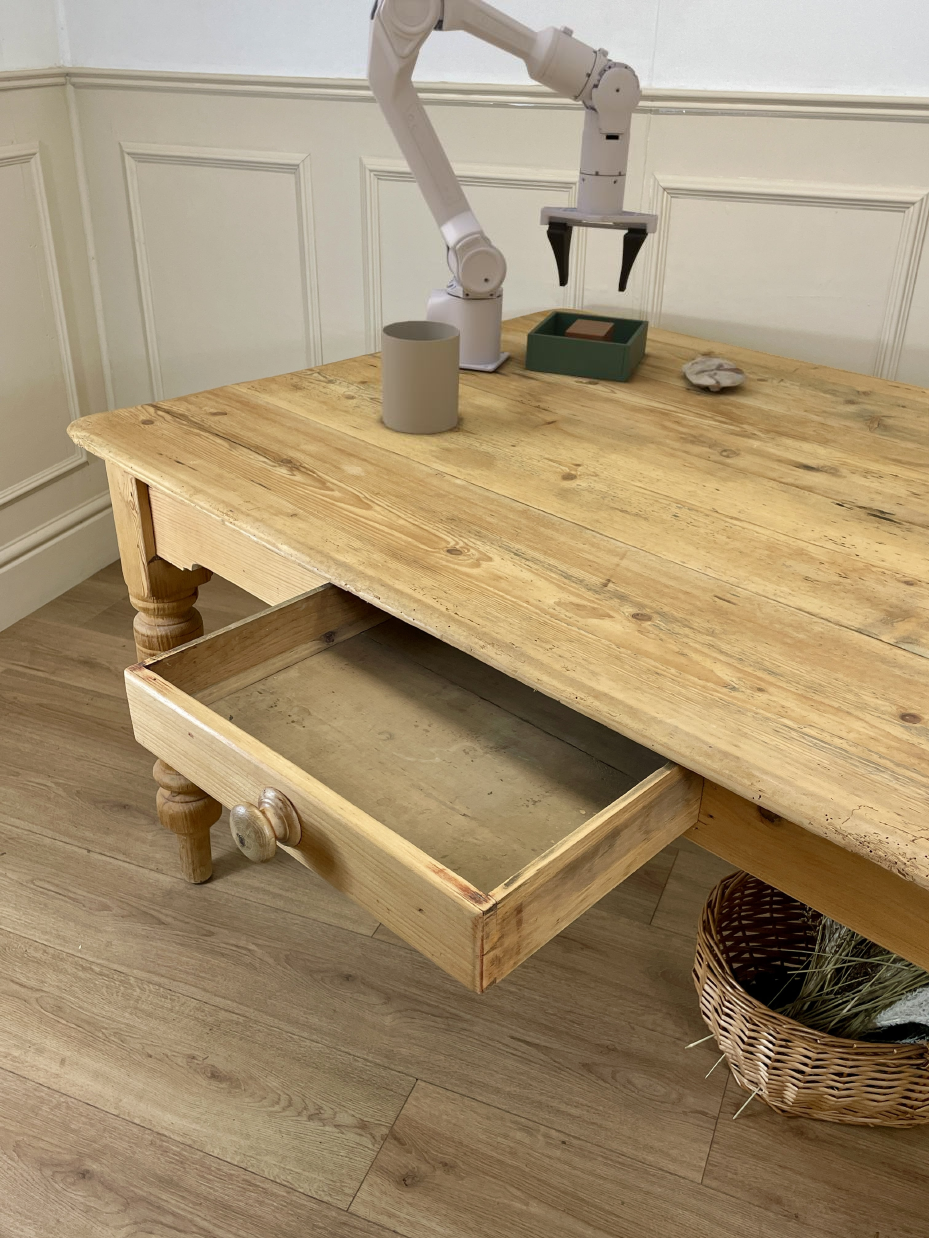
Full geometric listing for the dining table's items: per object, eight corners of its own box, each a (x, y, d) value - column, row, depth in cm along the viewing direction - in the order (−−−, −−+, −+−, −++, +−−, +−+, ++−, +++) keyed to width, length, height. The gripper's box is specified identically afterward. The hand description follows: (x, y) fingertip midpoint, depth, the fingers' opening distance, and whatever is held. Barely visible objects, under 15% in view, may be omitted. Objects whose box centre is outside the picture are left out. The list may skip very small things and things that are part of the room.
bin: (525, 369, 129) (527, 333, 126) (551, 343, 139) (553, 310, 137) (625, 382, 125) (629, 345, 123) (644, 355, 136) (648, 321, 133)
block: (562, 362, 130) (565, 331, 128) (575, 348, 135) (577, 319, 133) (600, 367, 128) (603, 336, 126) (611, 353, 134) (614, 323, 132)
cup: (430, 439, 106) (430, 346, 101) (368, 423, 110) (365, 332, 105) (471, 417, 112) (474, 328, 107) (411, 403, 116) (411, 316, 111)
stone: (753, 396, 121) (757, 375, 120) (694, 396, 121) (698, 374, 119) (728, 373, 130) (731, 353, 128) (673, 372, 129) (676, 352, 128)
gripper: (537, 173, 120) (530, 289, 127) (657, 181, 117) (644, 299, 123) (550, 167, 126) (543, 277, 133) (665, 174, 122) (651, 287, 129)
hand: (592, 287), depth 129 cm, fingers open, 7 cm apart
